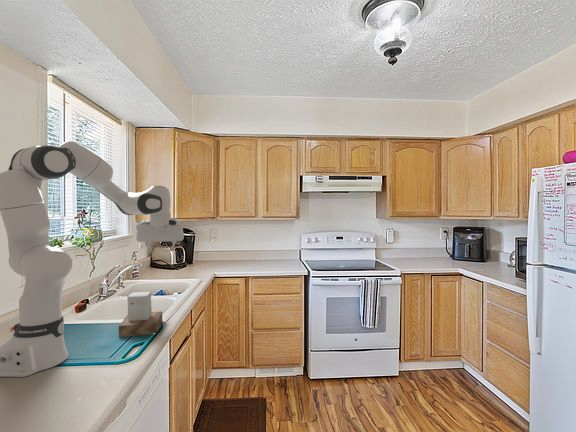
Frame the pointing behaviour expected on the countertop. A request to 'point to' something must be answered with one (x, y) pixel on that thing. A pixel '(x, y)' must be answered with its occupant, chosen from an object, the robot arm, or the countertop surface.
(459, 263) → the countertop surface
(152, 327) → the walnut block
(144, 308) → the small box
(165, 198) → the robot arm
